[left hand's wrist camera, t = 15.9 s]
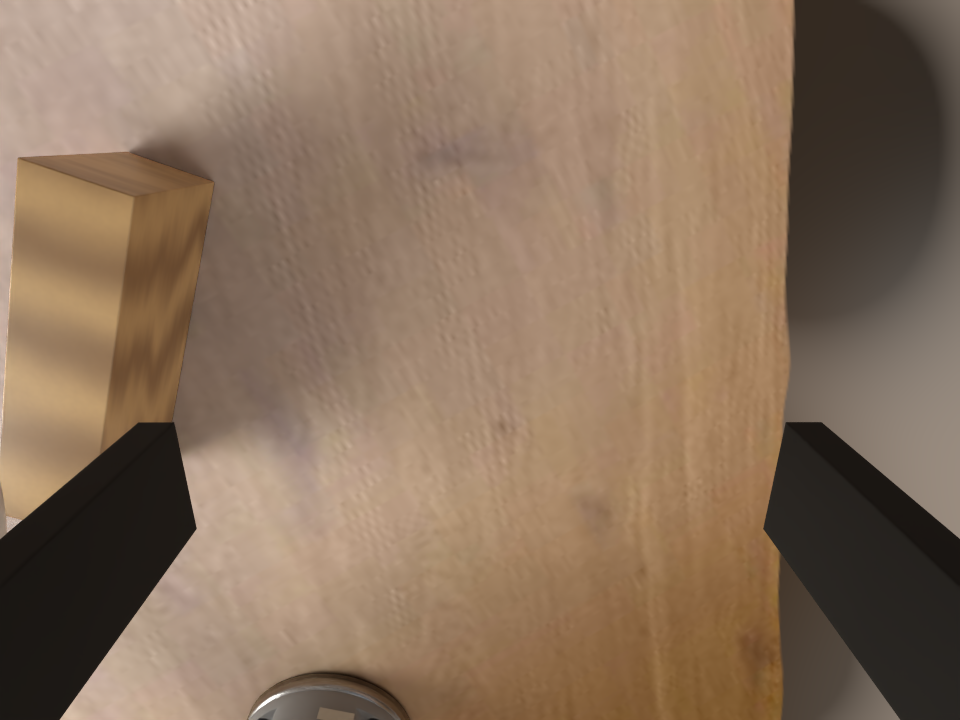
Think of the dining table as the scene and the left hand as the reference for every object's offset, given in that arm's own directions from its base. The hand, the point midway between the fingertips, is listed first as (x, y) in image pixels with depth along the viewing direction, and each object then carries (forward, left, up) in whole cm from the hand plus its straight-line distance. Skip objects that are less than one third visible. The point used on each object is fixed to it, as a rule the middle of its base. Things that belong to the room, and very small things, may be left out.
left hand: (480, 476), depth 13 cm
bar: (-5, +23, -27) cm, 36 cm away
